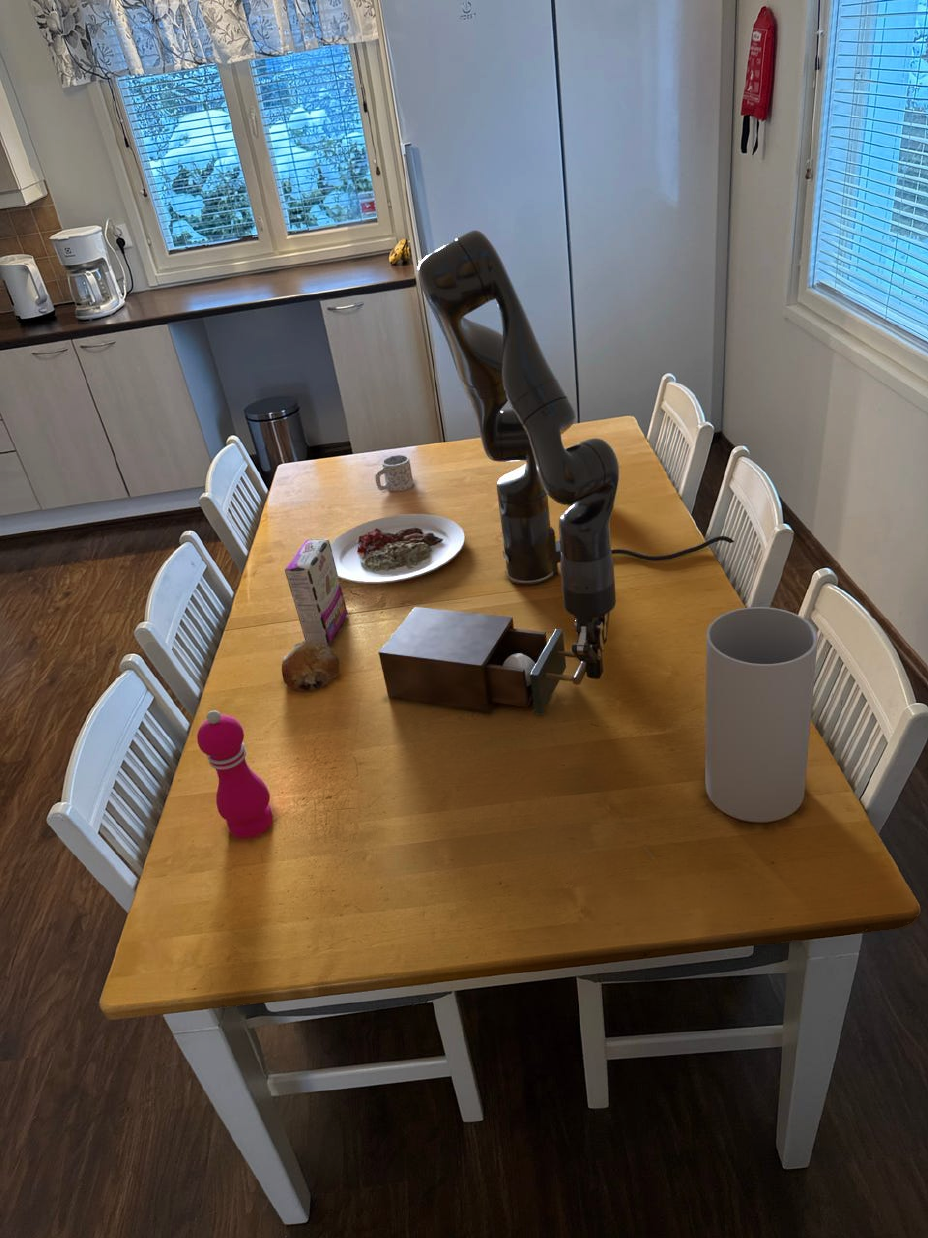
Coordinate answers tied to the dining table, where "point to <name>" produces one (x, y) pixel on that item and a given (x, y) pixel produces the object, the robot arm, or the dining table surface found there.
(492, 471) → the dining table surface
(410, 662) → the cabinet
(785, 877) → the dining table surface
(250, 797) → the pepper mill
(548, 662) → the drawer
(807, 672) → the cylinder vase
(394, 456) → the mug
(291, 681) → the bread roll
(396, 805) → the dining table surface
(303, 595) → the candy bar box
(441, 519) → the plated food
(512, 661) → the garlic bulb
